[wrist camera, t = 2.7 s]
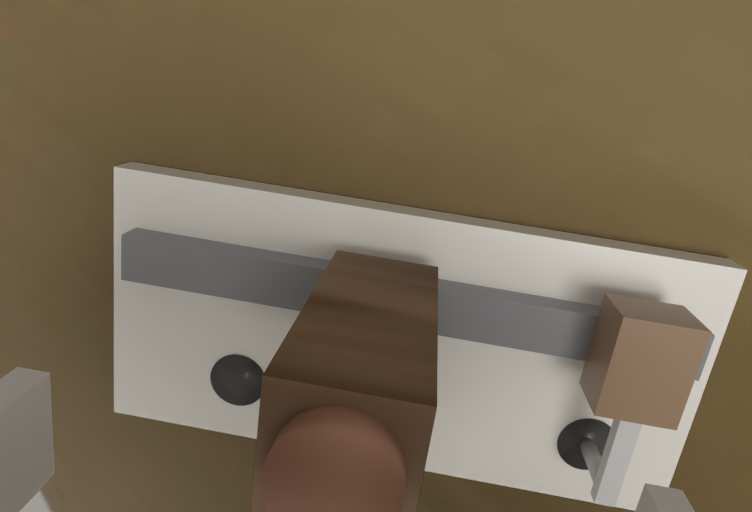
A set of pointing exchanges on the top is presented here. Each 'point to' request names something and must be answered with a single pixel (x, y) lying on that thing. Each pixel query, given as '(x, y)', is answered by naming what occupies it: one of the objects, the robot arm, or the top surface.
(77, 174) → the top surface
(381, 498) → the sliding handle
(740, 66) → the top surface
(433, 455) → the board
